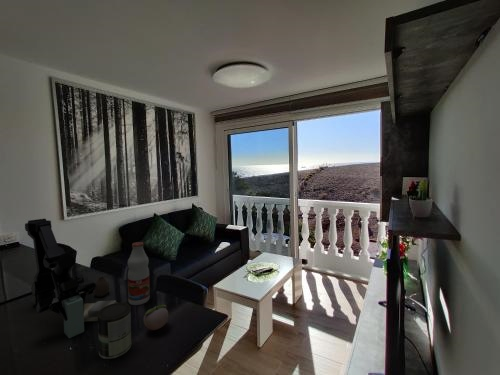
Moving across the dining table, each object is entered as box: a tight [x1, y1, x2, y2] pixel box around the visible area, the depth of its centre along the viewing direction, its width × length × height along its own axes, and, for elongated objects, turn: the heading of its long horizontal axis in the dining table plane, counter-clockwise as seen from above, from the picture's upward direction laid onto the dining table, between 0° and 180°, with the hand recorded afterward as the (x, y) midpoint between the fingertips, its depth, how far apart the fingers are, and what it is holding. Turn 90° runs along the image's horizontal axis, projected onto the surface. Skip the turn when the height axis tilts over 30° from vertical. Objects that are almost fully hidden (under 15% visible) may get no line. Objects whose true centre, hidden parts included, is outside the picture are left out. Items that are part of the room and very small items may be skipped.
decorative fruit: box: [143, 304, 169, 331], centre depth 98 cm, size 9×8×10 cm
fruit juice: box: [127, 241, 151, 306], centre depth 119 cm, size 9×9×28 cm
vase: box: [93, 276, 111, 298], centre depth 124 cm, size 7×7×9 cm
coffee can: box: [97, 302, 132, 360], centre depth 88 cm, size 10×10×14 cm
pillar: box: [62, 295, 85, 339], centre depth 96 cm, size 5×5×14 cm
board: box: [84, 299, 119, 323], centre depth 109 cm, size 16×12×4 cm
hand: (75, 316), depth 95 cm, fingers closed on pillar, 5 cm apart
